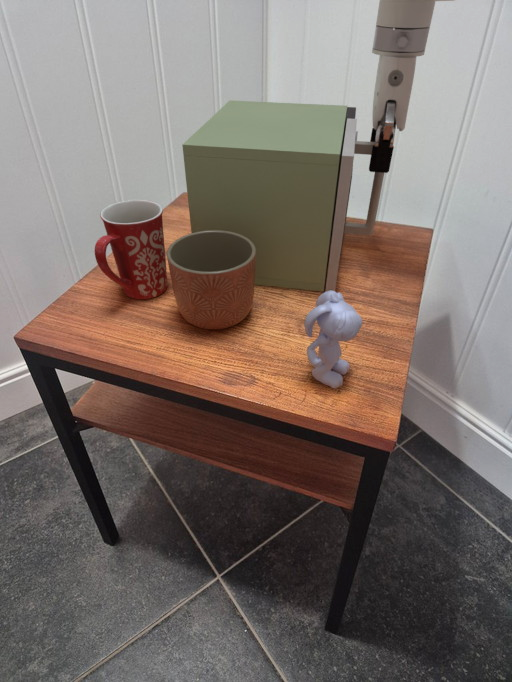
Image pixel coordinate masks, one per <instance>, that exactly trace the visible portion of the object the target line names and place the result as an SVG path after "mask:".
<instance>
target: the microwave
mask: <svg viewBox="0 0 512 682" xmlns="http://www.w3.org/2000/svg"><path fill="white" fill-rule="evenodd" d="M356 115H357V107H356V106H348V105H340V104H318V103H317V104H315V103H297V102H296V103H293V102H270V101H268V102H267V101H249V100H229V101H227V102H226V103H225V104H224V105H223V106H222V107H220V109H219V110H217V112H215V113H214V114H213V115H212V116H211V117H210V118H208V120H206V122H205V123H204V124H203V125H201V126H200V127H199V128H198V129H197V130H196V131H195V132H194V133H193V134H192V135H191V136H190V137H189V138H188V139H186V141H184V142H183V143H182V155H183V165H184V175H185V183H186V184H185V185H186V193H187V203H188V212H189V213H188V214H189V222H190V230H191V231H190V232H191V233H195V232H200V231H208V230H221V231H229V232H234V233H237V234H240V235H242V236H244V237H246V238H248V239H249V240H250V241H251V242H252V243H253V244H254V246H255V249H256V261H255V285H254V286H265V287H275V288H285V289H292V290H293V289H294V290H303V291H312V292H321V293H324V292H325V287H326V279H327V272H328V265H329V257H330V248H331V240H332V232H333V224H334V216H335V208H336V200H337V191H338V183H339V175H340V167H341V159H342V151H343V144H344V137H345V130H346V123H347V118H348V119H356V117H357V116H356ZM358 134H359V131H358V130H356V136H355V141H358ZM191 233H190V234H191Z"/></svg>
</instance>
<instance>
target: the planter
mask: <svg viewBox="0 0 512 682" xmlns="http://www.w3.org/2000/svg"><path fill="white" fill-rule="evenodd" d="M166 260H167V264H168V269H169V270H168V271H169V275H170V281H171V285H172V291H173V295H174V299H175V303H176V306H177V308H178V309H177V310H178V311H179V313H180V315H181V316H182V318H183V319H184V320H185V321H187V322H188V323H189V324H191V325H193V326H195V327H198V328H199V329H205V330H222V329H223V330H224V329H227V328H231V327H233V326H235V325H238V324H239V323H241V322H242V321H243V320H244V319H245V318H246V317H247V316H248V315H249V314H250V311H251V309H252V306H253V302H254V296H255V286H256V285H255V261H256V249H255V246H254V244H253V243H252V242H251V241H250V240H249V239H248V238H246V237H244V236H242V235H240V234H237V233H234V232H229V231H221V230H208V231H200V232H195V233H188V234H185V235H183V236H181V237H178V238H177V239H176V240H174V241H173V242H172V243H171V244H170V245H169V247H167V251H166Z"/></svg>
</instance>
